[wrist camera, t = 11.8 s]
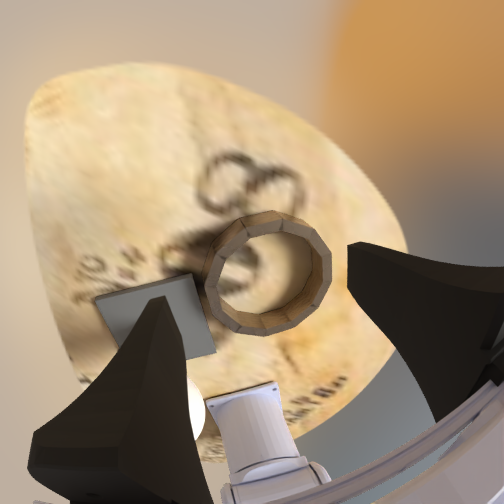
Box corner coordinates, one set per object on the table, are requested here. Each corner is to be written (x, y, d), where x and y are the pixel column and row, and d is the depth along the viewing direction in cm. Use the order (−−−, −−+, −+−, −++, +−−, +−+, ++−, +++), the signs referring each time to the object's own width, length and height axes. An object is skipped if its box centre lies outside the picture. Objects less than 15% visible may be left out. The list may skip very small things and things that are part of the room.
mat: (215, 348, 25) (216, 352, 24) (133, 366, 24) (133, 370, 23) (191, 272, 21) (192, 276, 21) (96, 296, 20) (94, 301, 19)
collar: (321, 302, 26) (331, 314, 24) (218, 332, 24) (222, 348, 22) (317, 200, 21) (329, 208, 20) (190, 229, 20) (191, 240, 18)
